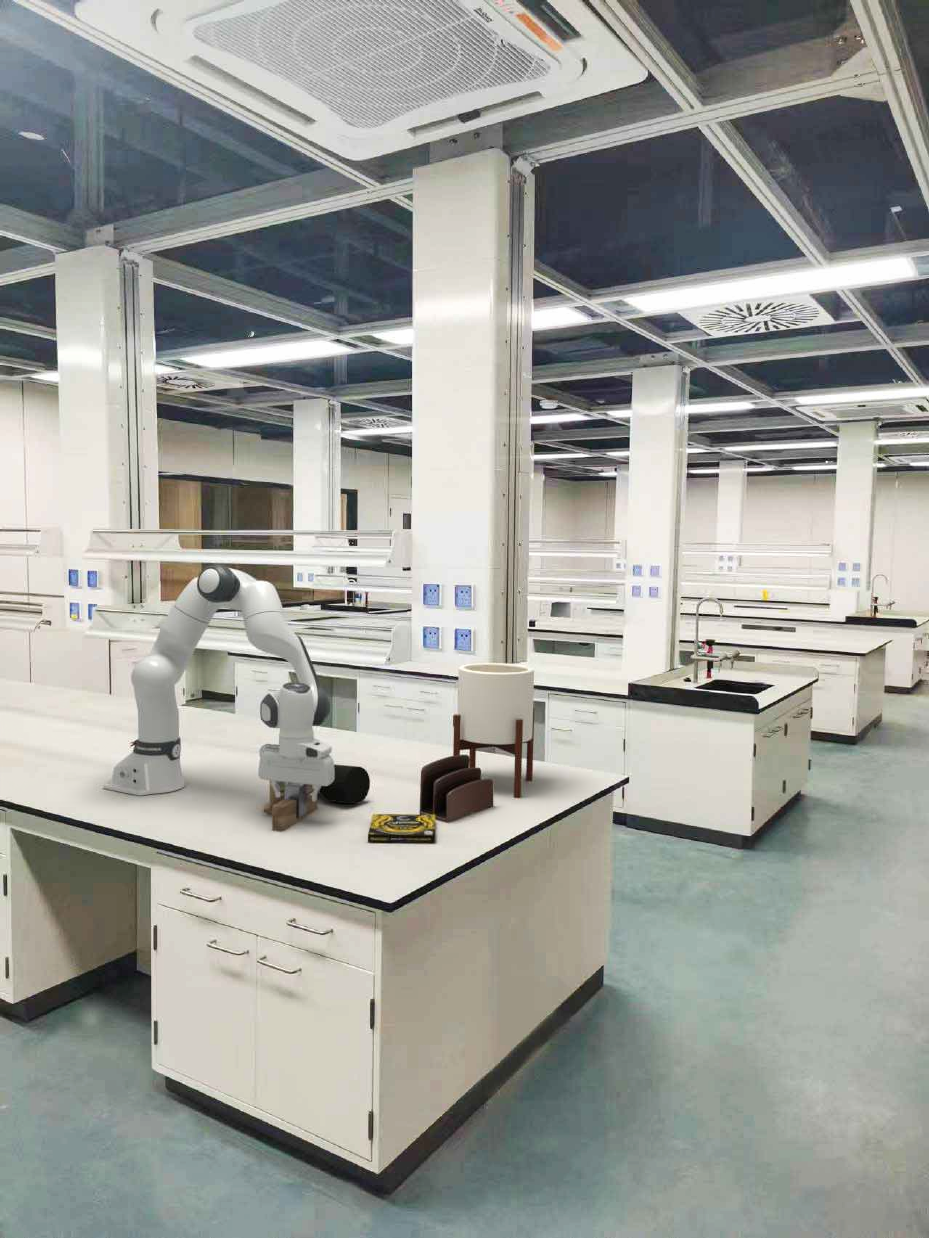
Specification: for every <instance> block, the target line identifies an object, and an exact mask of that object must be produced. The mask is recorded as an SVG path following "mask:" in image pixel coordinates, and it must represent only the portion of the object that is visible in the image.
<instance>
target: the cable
mask: <svg viewBox="0 0 929 1238" xmlns="http://www.w3.org/2000/svg"><path fill="white" fill-rule="evenodd" d="M334 771H335V779H334V781H333V782H332V783H331V784H330V785H328V786H321V788H320V790H319V791H318V795H320V796H321V797H322V798H323V799H324V800H327V801H331V802H336V803H338V802H339V803H346V804H355V805H357V804H359V803H362V802H363V801H364V800H366V798H367V796H368V795H369V791H370V789H371V785H370V784H371V780H370V775H369V773H368V771H367V769H365V768H363V767H361V766H357V765H344V764H343V765H342V764H334ZM289 783H290V782H285V786H286V785H288V784H289ZM306 786H313V785H309V784H306Z"/></svg>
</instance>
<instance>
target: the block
mask: <svg viewBox="0 0 929 1238" xmlns="http://www.w3.org/2000/svg"><path fill="white" fill-rule="evenodd" d="M285 799H295V800H296V818H300V817H301V816H303V815H305V814H306V784H300V783H289V784H288V785H286V786H285Z"/></svg>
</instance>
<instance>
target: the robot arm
mask: <svg viewBox="0 0 929 1238" xmlns="http://www.w3.org/2000/svg"><path fill="white" fill-rule="evenodd" d="M277 591H278V590H277V589H276V587H275V586H274V584H272V583H271V582H269V581H266V580H259V579H258V578H256V577H255V576H253V575H250V574H249V573H247V572H244V571H242V570H240V569H239V570H238V569H235V568H230V567H228V566H226V565H222V564H211V565H208V566H206V567H204V568H203V569H202V570H201V571H200V573H199V574H198V576H197V577H194V578H193V579H191V580H190V582H189V583H188V584H187V585H186V586H185V587H184V589H183V590H182V591H181V593H180V594H179V596H178V597H177V598H176V600H175V602H174V604H173V606H172V607H171V608H170V611H169V612H168V614H167V616H166V618H164V619H165V620H164V621H163V623H162V625H161V627H160V628H159V632H158V634H157V636H156V637H157V638H156V640H155V642H154V643H153V647H152V649H151V650H150V652H149V653H148V655H147V656H145V657H143V658H141V659H140V660H138V661H137V662H136V663H135V665H134V667H133V669H132V672H131V676H130V679H131V684H132V686H133V692H134V698H135V704H136V709H137V723H138V724H137V725H138V726H137V727H138V728H137V731H138V732H137V733H138V738H137V739H136V740H134V741H132V742H129V744H130V746H129V747H133V749H132V751H131V753H130V754H128V755H126V756H125V757H124V758H123V759H121V761H119V762H118V763H116V765H115V766H114V768H113V771H112V777H111V778H112V779H110V780H108V781H106V782H105V783H104V785H103V789H105V790H110V791H114V792H118V793H125V794H129V795H130V794H131V795H134V796H146V795H154V794H164V793H170V792H171V793H172V792H175V791H178V790H180V789H183V788H184V787H185V786H186V783H185V779H184V775H183V772H182V771H183V770H182V765H181V764H182V763H181V752H182V748H181V747H182V746H181V745H182V744H181V743H182V741H181V740H182V739H181V737H180V711H179V708H178V703H177V697H176V692H175V691H176V688H175V686H176V684H178V683H179V682H180V680H181V678H182V676H183V675H184V673H185V671H186V669H187V667H188V665H189V663H190V661H191V658H192V656H193V654H194V652H195V650H196V648H197V646H198V644H199V642H200V640H201V639H202V637H203V635H204V634H205V632H206V630H207V629H208V626H209V625H210V623H211V621H212V619H213V618H214V615H215V613H216V612H217V611H218V610H219V609H221V608H224V609H225V608H226V609H229V610H232V611H237V612H241V614H242V619H243V625H244V631H245V634H246V638H247V639H248V641H249V643H250V644H251V645H252V646H253V647H255V648H256V649H257V650H259V651H261V652H262V653H263V652H264V653H265V654H271V655H274V656H276V657H279V658H282V659H284V660H286V661H287V662H288V663H289V664H290V665H291V666H292V667H293V670H294V673H295V675H296V677H297V680H298V681H290V682H287V683H283V685H281V687H280V689H279V690H276V691H274V692H270V693H267V694H266V695H265V696H264V697H263V698H262V700H261V701H260V706H259V707H260V709H259V711H260V714H259V715H260V720H261V721H262V722H263V724H264V725H266V726H267V727H268V728H272V729H279V733H278V744H271V743H265V744H263V745H262V746H261V747H260V748H259V758H260V759H259V762H258V764H259V765H258V773H257V774H258V777H259V779H260V780H265V781H270V780H271V785H272V787H273V789H274V790H275V797H276V798H282V797H283V795H284V794H283V792H284V790H281V789H280V787H279V784H278V783H280V781H281V782H290V783H300V784H309V785H313V789H315V790H314V791H313V793H311V794H309V801H312V802H315V801H316V800H317V793H318V791H319V790H320V788H321V786H328V785H330V784H331V783H332V782H333V781H334V779H335V771H334V765H335V762H334V758H333V756H331V753H332V752H333V751H332V749H333V748H332V745H331V744H328V743H326V742H323V741H321V740H320V739H317V738H315V733H314V729H313V727H319V726H321V725H322V724H323V723H324V722H325V721H326V719H327V718H328V717H329V715H330V712H331V703H330V699H329V697H328V696H327V694H326V692H325V690H324V689H323V686H322V685H321V682H320V680H319V677H318V675H317V672H316V669H315V667H314V664H313V662H312V660H311V657H310V654H309V651H308V650H307V647H306V645H305V643H304V641H303V639H302V638H301V636H300V635H298V634H297V633H295V632H294V631H293V630H292V629H291V627H290V626H289V624H288V622H287V620H286V616H285V612H284V609H283V605H282V601H281V599H280V597H279V596H280V595H279V594H278V592H277Z"/></svg>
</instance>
